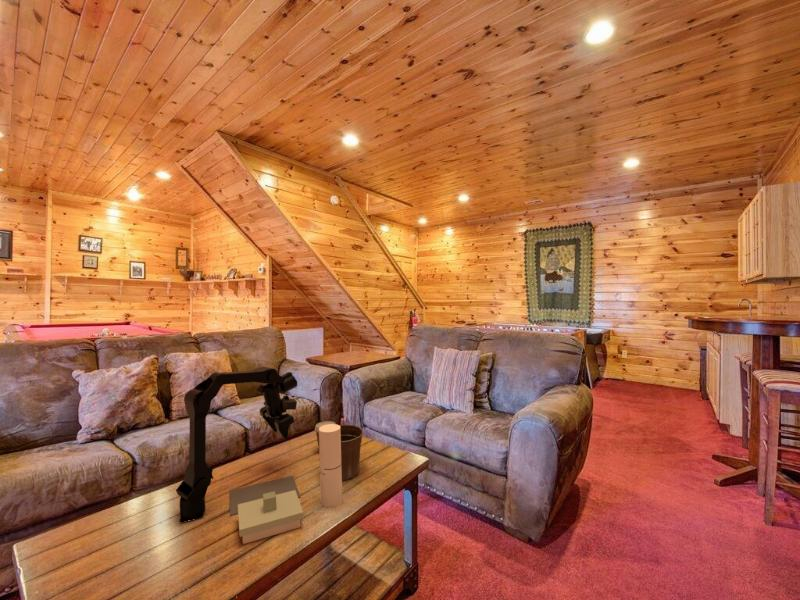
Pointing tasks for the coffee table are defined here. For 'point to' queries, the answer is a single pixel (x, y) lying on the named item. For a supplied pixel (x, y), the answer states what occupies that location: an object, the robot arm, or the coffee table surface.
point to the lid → (269, 512)
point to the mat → (260, 491)
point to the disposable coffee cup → (320, 426)
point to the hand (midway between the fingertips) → (280, 435)
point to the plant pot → (350, 450)
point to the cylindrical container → (330, 465)
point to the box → (271, 531)
